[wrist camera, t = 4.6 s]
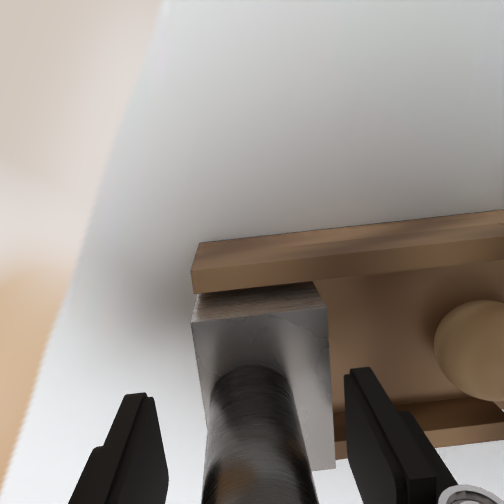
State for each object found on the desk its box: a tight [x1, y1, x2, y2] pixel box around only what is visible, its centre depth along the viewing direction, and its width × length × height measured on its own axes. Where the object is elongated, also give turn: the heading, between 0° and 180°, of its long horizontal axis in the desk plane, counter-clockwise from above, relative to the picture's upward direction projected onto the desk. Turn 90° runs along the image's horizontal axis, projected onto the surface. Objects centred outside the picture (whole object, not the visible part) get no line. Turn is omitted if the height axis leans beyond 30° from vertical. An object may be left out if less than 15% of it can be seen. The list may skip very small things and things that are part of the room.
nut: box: [434, 300, 504, 401], centre depth 14 cm, size 3×3×3 cm
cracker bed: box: [191, 210, 504, 460], centre depth 14 cm, size 15×8×7 cm, turn 96°
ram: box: [191, 281, 336, 504], centre depth 11 cm, size 4×6×10 cm
